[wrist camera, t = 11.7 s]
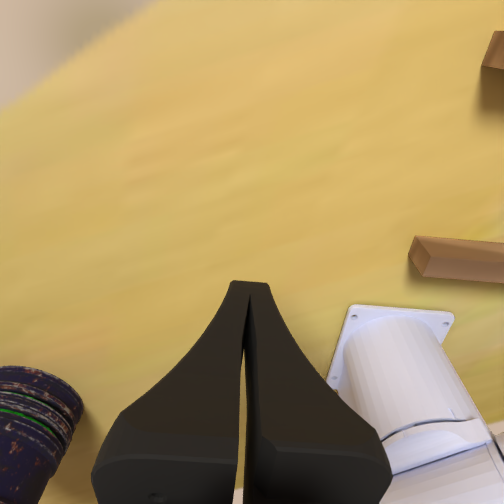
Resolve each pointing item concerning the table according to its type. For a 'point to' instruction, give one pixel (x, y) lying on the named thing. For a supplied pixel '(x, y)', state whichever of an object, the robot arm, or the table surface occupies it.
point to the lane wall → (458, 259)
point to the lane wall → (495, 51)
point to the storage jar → (33, 430)
